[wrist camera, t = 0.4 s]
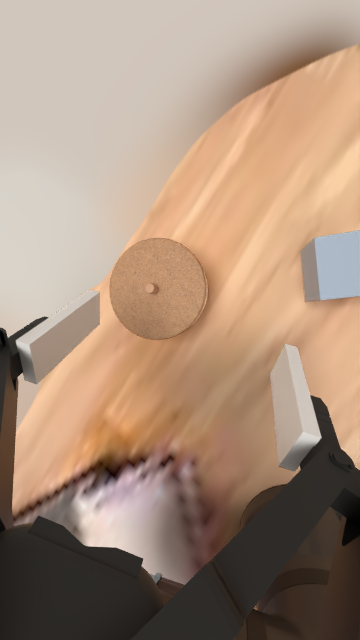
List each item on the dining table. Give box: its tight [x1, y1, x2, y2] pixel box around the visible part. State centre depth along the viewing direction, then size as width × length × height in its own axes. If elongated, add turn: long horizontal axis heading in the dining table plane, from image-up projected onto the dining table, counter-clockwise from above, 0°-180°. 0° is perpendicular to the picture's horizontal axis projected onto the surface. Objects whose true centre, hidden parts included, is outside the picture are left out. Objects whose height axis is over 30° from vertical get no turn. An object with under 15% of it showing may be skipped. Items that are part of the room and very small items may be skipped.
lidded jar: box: [110, 238, 208, 340], centre depth 29 cm, size 11×11×9 cm
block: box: [300, 230, 360, 302], centre depth 26 cm, size 6×6×6 cm
